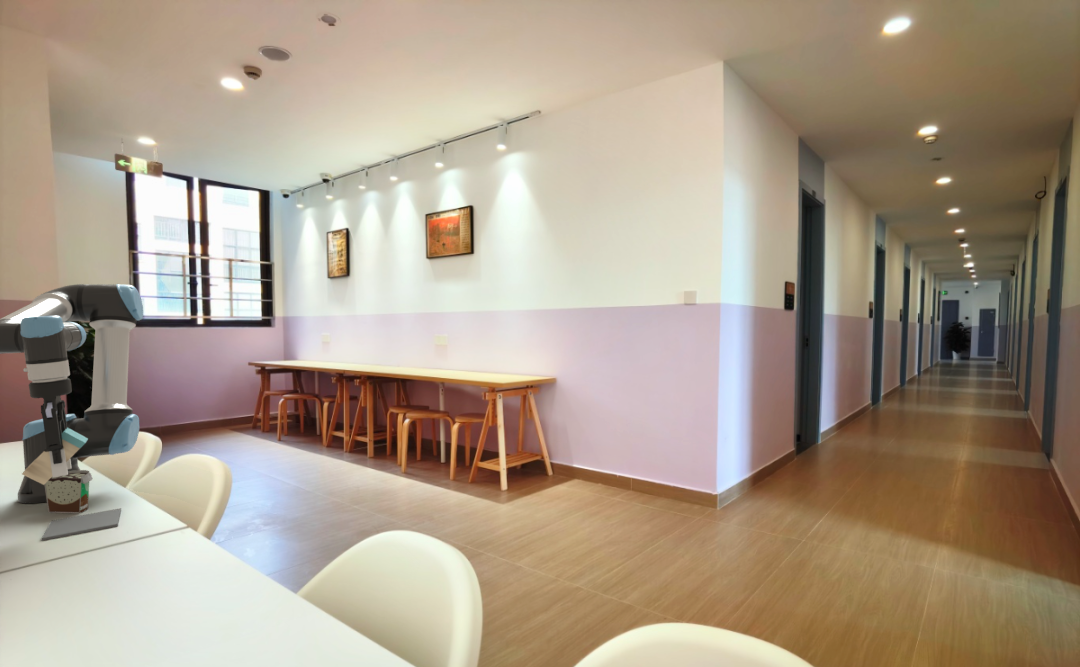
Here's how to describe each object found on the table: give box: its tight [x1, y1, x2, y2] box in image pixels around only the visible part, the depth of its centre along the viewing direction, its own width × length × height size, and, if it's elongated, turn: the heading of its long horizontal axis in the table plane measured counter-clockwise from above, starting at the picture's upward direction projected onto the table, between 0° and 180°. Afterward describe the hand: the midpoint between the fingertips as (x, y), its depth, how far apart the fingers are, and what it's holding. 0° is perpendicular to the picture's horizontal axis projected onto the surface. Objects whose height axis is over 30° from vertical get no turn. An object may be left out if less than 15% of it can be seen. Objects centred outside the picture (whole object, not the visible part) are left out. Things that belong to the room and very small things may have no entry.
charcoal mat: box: [40, 507, 122, 542], centre depth 135 cm, size 14×14×1 cm
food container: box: [44, 469, 93, 514], centre depth 146 cm, size 12×6×10 cm, turn 84°
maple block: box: [21, 428, 88, 485], centre depth 131 cm, size 5×5×12 cm
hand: (62, 472), depth 131 cm, fingers closed on maple block, 5 cm apart
